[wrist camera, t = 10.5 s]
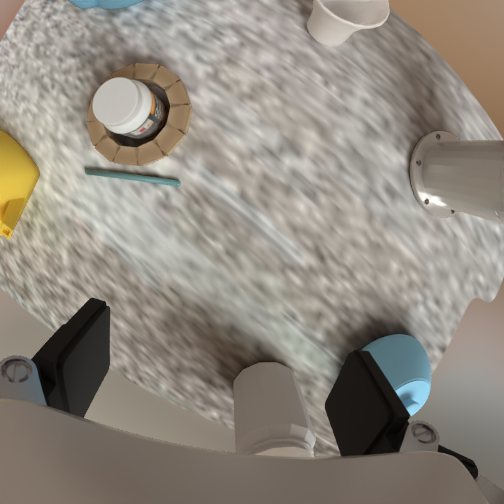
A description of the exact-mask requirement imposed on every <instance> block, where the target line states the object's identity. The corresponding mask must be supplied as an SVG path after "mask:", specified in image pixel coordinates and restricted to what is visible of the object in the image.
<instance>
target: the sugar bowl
mask: <svg viewBox="0 0 504 504" xmlns="http://www.w3.org/2000/svg"><path fill="white" fill-rule="evenodd" d="M362 350H364V351H369V352H370V353H371V355H372V357H373V358H374V360H375V361H376V363H377V364H378V366H379V367H380V369H381V370H382V372H383V373H384V375H385V376H386V378H387V379H388V381H389V382H390V384H391V386H392V387H393V389H394V390H395V392H396V393H397V395H398V396H399V398H400V400H401V401H402V403H403V404H404V406H405V408H406V409H407V411H408V412H409V414H410V415H411V416H412V415H413V414H415V413H416V412H417V411H418V410H419V409H420V408H421V407H422V406H423V404H424V403H425V402H426V400H427V398H428V395H429V392H430V387H431V368H430V362H429V359H428V356H427V353H426V351H425V349H424V348H423V346H422V345H421V344H420V342H419V341H418V340H417V339H415V338H414V337H412V336H409V335H405V334H394V335H389V336H385V337H382V338H380V339H377V340H375V341H373V342H371V343H370V344H368V345H367V346H365V347H364V348H363V349H362Z"/></svg>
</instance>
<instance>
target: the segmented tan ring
mask: <svg viewBox="0 0 504 504" xmlns="http://www.w3.org/2000/svg"><path fill="white" fill-rule="evenodd" d="M111 76H112V78H116V77H124V78H127V79H130V80H137V81H140V82H142V83H144V84H145V85H147V86H158V87H159V88H161V89H162V90H163V91H165V92H166V94H167V97H168V100H169V103H170V111H169V115H168V120H167V125H166V126H165V127H164V128H163V129H162V131H161V132H160V133H159V134H158V135H157V137H156V138H155V139H154V140H152V141H150V142H148V143H146V144H143V145H141V146H139V147H137V148H136V147H127V146H125V145H124V144H123V143H122V142H121V141H119V140H118V139H117V138H116V137H115V134H114V132H112V131H110V130H109V129H107V128H106V127H105V126H104V124H103V123H101V122H100V121H99V120H98V119H97V118H96V117H95V115H94V113H93V107H92V104H93V99H91V103H90V108H89V112H88V117H87V122H90V123H88V124H87V127H88V131H89V134H90V137H91V141H92V144H93V146H96V147H95V149H96V150H98V151H99V152H100V153H101V154H102V155H103V156H105V157H106V158H107V159H108V160H109V161H110V162H114V163H118V164H127V165H135V166H144V165H148V164H151V163H153V162H155V161H158V160H160V159H163V158H165V157H167V156H168V155H167V154H171V153H172V152H173V151H174V150H175V148H176V147H177V146H178V145H179V143H180V142H181V141H182V140H183V139H184V138H185V135H184V134H183V133H182V132H185V133H188V128H189V123H190V118H191V114H192V109H191V107H192V106H191V103H190V100H189V97H188V94H187V92H186V89H185V86H184V85H183V83H182V81H181V80H180V78H179V77H177V76H176V75H175V74H173V73H172V72H170V71H169V70H168V69H166V68H165V67H163V66H162V65H161V66H159V64H146V63H136V64H135V66H134V65H133V64H131V65H129V66H127V67H125V68H123V69H121V70H119V71H116V72H114V73H112V74H111ZM110 79H111V78H110V77H107V79H106V80H105V81H104V82H103V83H105V82H106V81H108V80H110ZM103 83H102V84H103ZM96 92H97V91H96ZM96 92H95V94H96ZM95 94H94V95H93V96H95Z"/></svg>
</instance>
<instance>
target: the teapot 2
mask: <svg viewBox="0 0 504 504" xmlns="http://www.w3.org/2000/svg"><path fill="white" fill-rule="evenodd" d="M47 1H52V0H47ZM68 1H69V2H71V3H72V4H73V5H74V6H76V7H78V8H82V9H88V8H93V7H99V8H103V9H119V8H124V7H128V6H131V5H134V4H137V3H139V2H141V1H143V0H68Z"/></svg>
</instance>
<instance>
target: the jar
mask: <svg viewBox="0 0 504 504" xmlns="http://www.w3.org/2000/svg"><path fill="white" fill-rule="evenodd" d="M233 397H234V421H235V443H236V453H242V454H253V455H266V456H284V457H314V456H313V453H314V450H313V447H314V443H315V440H316V437H315V434H314V431H313V428H312V424H311V421H310V418H309V415H308V412H307V408H306V405H305V402H304V399H303V396H302V393H301V389H300V386H299V383H298V380H297V378H296V376H295V375H294V373H293V372H292V370H291V368H288V367H286V366H284V365H281V364H279V363H277V362H262V363H257V364H254V365H252V366H250V367H248V368H245V369H243V370H242V371H241V372H240V374H239V375H238V376H237V377H236V379H235V380H234V381H233Z"/></svg>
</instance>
